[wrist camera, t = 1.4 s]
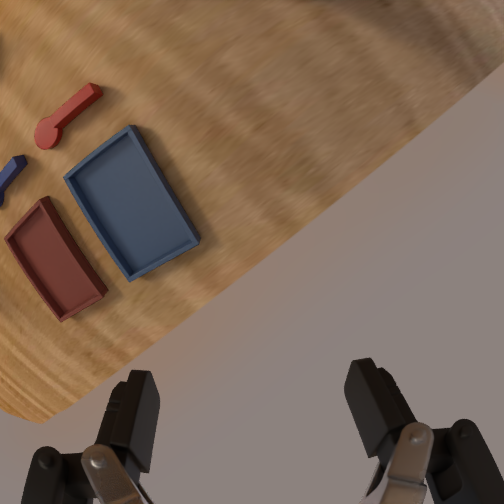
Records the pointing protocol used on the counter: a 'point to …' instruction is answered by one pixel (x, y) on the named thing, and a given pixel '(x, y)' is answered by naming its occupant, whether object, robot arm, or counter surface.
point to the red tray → (54, 261)
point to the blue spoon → (10, 173)
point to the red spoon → (65, 116)
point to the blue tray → (131, 204)
